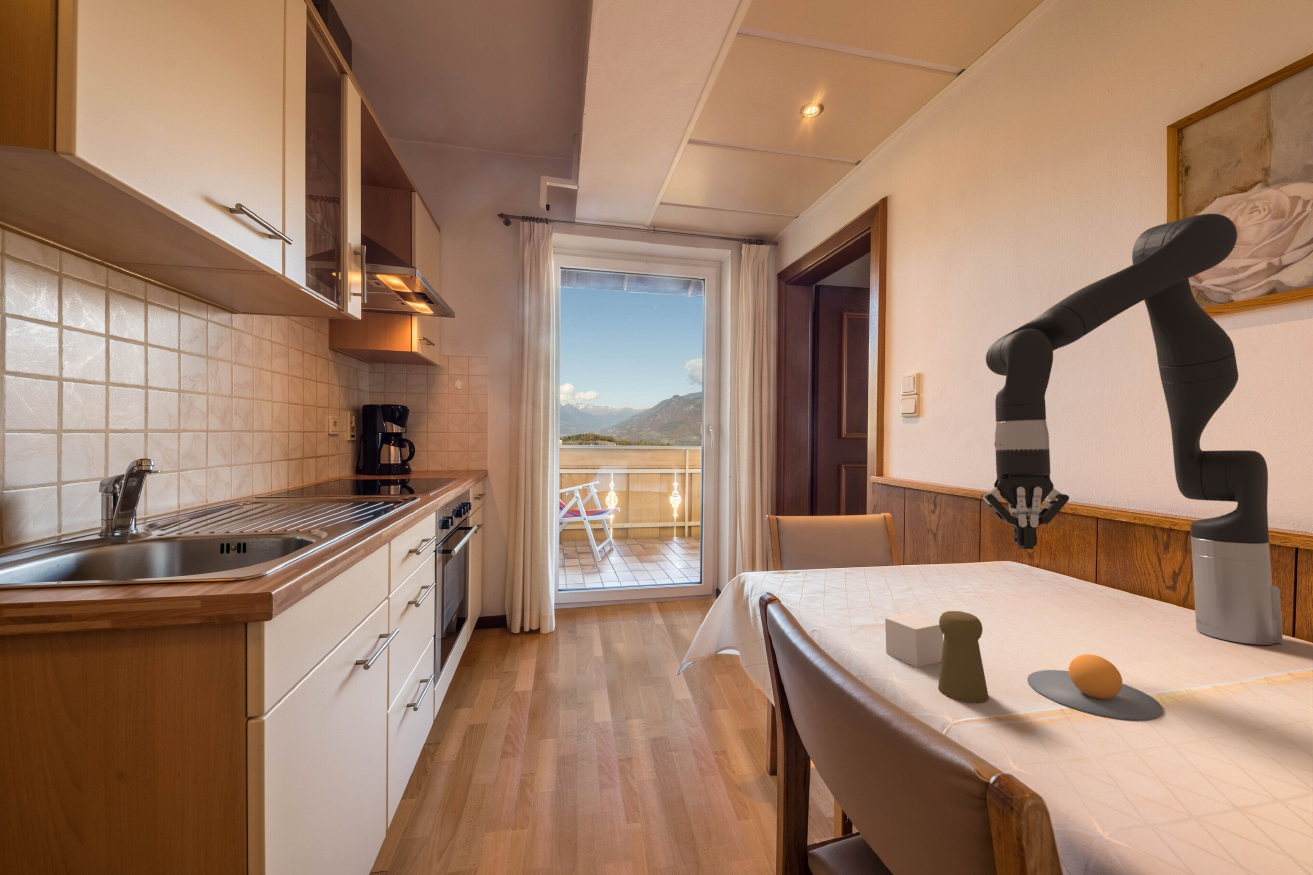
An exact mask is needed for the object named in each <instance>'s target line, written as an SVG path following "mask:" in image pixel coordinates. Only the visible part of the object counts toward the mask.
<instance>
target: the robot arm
mask: <svg viewBox="0 0 1313 875" xmlns="http://www.w3.org/2000/svg"><path fill="white" fill-rule="evenodd" d="M1237 230H1238V229H1237V227H1236V225H1235V223H1234V222H1233V221H1232V220H1231V219H1230V218H1229V217H1227V216H1225V215H1224V214H1218V213H1205V214H1204V213H1203V214H1197V215H1193V216H1189V217H1185V218H1182V219H1177V220H1173V221H1170V222H1166V223H1163V224H1158V225H1156V226H1152V227H1151V228H1148V229H1146V230H1145V231H1143V232H1142V233H1141V234H1140V235H1139V236H1138V238H1137V239H1136V241H1135V242H1134V243H1133V244H1134V245H1133V248H1132V256H1131V258H1132V259H1131V261H1132V265H1129V266H1127V267H1126V268H1123V269H1121V270H1119V271H1117V272H1115V273H1113V274H1111V275H1108V276H1106V277H1103V278H1102V279H1099V280H1096V281H1095V282H1093V283H1090V284H1088V285H1086V286H1085V287H1082V288H1080V289H1079V290H1077V291H1075V292H1074V293H1072V294H1069V295H1067V297H1065V298H1063V299H1062V300H1060V301H1058V302H1057V303H1055V304H1054V305H1053V306H1051V307H1049V308H1048V309H1047V310H1045V311H1044V312H1042V313H1041V314H1039V316H1037V317H1036V318H1034V319H1033V320H1030V321H1029V322H1027V323H1024V324H1023V325H1021V326H1019V327H1018V328H1015V329H1013V330H1012V331H1010V332H1008V333H1006V334H1005V335H1003V336H1002V337H1000V338H998V339H997V340H995V341H994V342H993V343H992V344H990V346H989V347H988V349H987V351H986V354H985V355H986V356H985V363H986V366H987V368H988V369H989V370H990V371H991V372H993V373H994V374H996V375H999V376H1004V377H1005V376H1006V377H1005V382H1004V383H1005V384H1004V385H1003V387H1002V388H1001V389H1000V390H999V391H998V392H997V393H996V395H995V404H994V405H995V407H994V409H995V422H996V423H995V431H994V443H993V446H994V450H995V471H996V480H995V482H994V484H993V488H992V489H991V490H989V491H988V492H986V493H985V492H983V493H982V494H981V495H980V498H981V499H982V501H983V502H984V503H985V504H986V505H987V506H988V507H989V509H990V510H992V512H994V514H995V515H996V516H997V517H998V518H999V520H1000V521H1002V522H1005V523H1008V524H1010V525H1012V528H1013V539H1014V540H1013V542H1014V544H1015V545H1017V547H1018V548H1019V549H1021V550H1034V549H1035V547H1037V545H1038V538H1037V537H1038V534H1037V532H1038V531H1037V528H1038V526H1041V525H1044V524H1045V525H1048V524H1049V523H1050V522H1052V520H1053V519H1054V518H1055V517H1056V515H1057V514H1058V513H1059V512H1060V511H1061V510H1062V508H1063V507H1064V506H1065V505H1066V503H1068V501H1069V500H1070V496H1069V495H1067V494H1064V493H1061V492H1060V491H1058V490H1057V489H1055V488H1054V487H1055V486H1054V483H1053V482H1052V480H1051V455H1050V453H1051V452H1050V435H1049V434H1050V433H1049V429H1048V424H1047V412H1046V411H1047V408H1046V392H1047V389H1048V385H1049V381H1050V376H1051V372H1052V368H1053V362H1054V351H1056V350H1059V349H1060V348H1064V347H1065V346H1068V345H1070V344H1073V343H1075V342H1076V341H1077V342H1078V340H1080V339H1082V338H1084V336H1086V335H1088V334H1089V333H1091V332H1092V331H1094V330H1095V329H1097V328H1099V327H1100V326H1102V325H1103V324H1105V323H1107V322H1108V321H1110V320H1111V319H1114V318H1115V317H1117V316H1119V315H1121V313H1123V312H1125V311H1126V310H1128V309H1130V308H1132V307H1133V306H1135V305H1137V304H1139V303H1142V302H1143V301H1144V304H1145V307H1146V310H1147V314H1148V317H1149V322H1150V327H1151V331H1152V335H1153V339H1154V343H1155V344H1154V345H1155V350H1156V358H1157V364H1158V371H1159V375H1160V382H1161V385H1162V390H1163V393H1164V398H1165V402H1166V407H1167V408H1166V409H1167V412H1168V417H1169V422H1170V431H1171V439H1172V440H1171V441H1172V452H1173V453H1172V454H1173V464H1174V473H1175V479H1176V485H1177V488H1178V490H1179V492H1180V493H1181V495H1182V496H1184V497H1185V498H1186V499H1188V500H1196V501H1209V502H1210V501H1211V502H1213V501H1216V502H1235V503H1237V506H1236V508H1235V509H1234V510H1232V511H1230V512H1228V513H1226V514H1223V515H1219V516H1214V517H1210V518H1204V519H1198V520H1197V519H1196V520H1195V521H1193V522H1192V521H1191V524H1190V541H1191V554H1192V555H1191V558H1192V574H1193V575H1192V576H1193V578H1192V579H1193V592H1194V593H1193V594H1194V596H1193V597H1194V611H1195V612H1194V613H1195V628H1196V631H1198V632H1199V633H1201V634H1204V635H1207V636H1209V637H1212V638H1215V639H1220V640H1224V641H1229V642H1234V643H1240V644H1247V645H1248V644H1249V645H1261V646H1264V645H1265V646H1270V645H1274V644H1283V643H1284V641H1283V640H1284V638H1283V636H1284V635H1283V622H1282V608H1281V607H1282V605H1281V591H1280V588H1279V586H1276V585H1273V581H1272V566H1271V565H1272V564H1271V552H1270V550H1271V549H1270V538H1269V519H1268V518H1269V516H1268V493H1269V492H1268V490H1269V488H1268V487H1269V486H1268V485H1269V472H1268V471H1269V470H1268V465H1267V461H1266V459H1265V457H1264V456H1263V455H1262V454H1261V452H1259V451H1257V450H1251V449H1250V450H1238V449H1237V450H1235V449H1234V450H1231V449H1230V450H1227V449H1226V450H1202V448H1201V445H1200V444H1201V443H1200V442H1201V437H1202V434H1203V433H1204V430H1205V428H1206V427H1207V425H1208V424H1209V422H1210V421H1211V419H1212V417H1213V416H1214V415H1215V413H1216V412H1217V411H1218V410H1219V409H1220V407H1221V406H1222V405H1223V404H1224V402H1226V400H1227V399H1228V398H1229V397H1230V395H1231V394H1232V392H1233V391H1234V389H1235V388H1236V385H1237V384H1238V380H1239V370H1238V366H1237V365H1238V364H1237V357H1236V352H1235V351H1236V350H1235V346H1234V343H1233V341H1232V339H1231V337H1230V336H1229V335H1228V334H1227V332H1226V331H1225V330H1224V329H1223V328H1222V327H1221V326H1220V324H1219V323H1217V321H1215V320H1214V319H1213V318H1212V317H1211V315H1209V314H1208V313H1207V312H1206V310H1204V309H1203V307H1201V306H1200V304H1199V303H1198V301H1197V300H1196V299H1195V296H1194V293H1193V291H1192V287H1191V283H1190V280H1189V279H1191V278H1192V277H1194V276H1196V275H1199V274H1201V273H1203V272H1206V271H1208V270H1210V269H1213V268H1214V267H1216V266H1217V265H1218V266H1219V264H1220V263H1222V262H1223V261H1225V260H1226V259H1227V258H1228V257H1229V256H1230V254H1231V253H1232V252H1233V250H1234V248H1235V246H1236V243H1237V241H1238V231H1237ZM1000 496H1001V497H1000ZM1002 499H1003V500H1004V501H1005V502H1006V504H1008V509H1007V508H1006V507H1005V506H1004V505H1003V504H1002V503H1001V500H1002ZM1045 500H1047V502H1046V503H1045V504H1044V505H1043V506H1042V508H1041V505H1042V504H1043V503H1044V501H1045Z"/></svg>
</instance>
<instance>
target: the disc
mask: <svg viewBox="0 0 1313 875" xmlns="http://www.w3.org/2000/svg"><path fill="white" fill-rule="evenodd" d="M1027 684H1028V686H1029V687H1030V688H1031V689H1033V690H1034V691H1035V692H1036V693H1038V694H1039V695H1041V696H1043V697H1045V698H1046V699H1047V700H1050V701H1053V702H1055V703H1057V704H1059V705H1062V706H1065V707H1068V708H1071V709H1074V710H1076V711H1079V712H1084V713H1086V714H1091V715H1095V716H1100V717H1103V718H1104V717H1105V718H1108V719H1109V718H1111V719H1117V720H1125V721H1150V720H1155V719H1158V718H1160V717H1161V716H1162V715H1163V714H1164V709H1163V706H1162V704H1161V702H1159V701H1158V700H1157V699H1155V698H1154V697H1152V696H1151V695H1149V694H1147V693H1145V692H1144V691H1141V690H1139V689H1137V688H1135V687H1132V686H1130V685H1128V684H1125V683H1123V684H1122V689H1121V691H1120V692H1119V693H1118V694H1117V695H1116V696H1114V697H1112V698H1109V699H1098V698H1094V697H1091V696H1088V695H1086V694H1085V693H1083V692H1082V691H1080V690H1079V689H1078V688H1077V687H1076V686H1075V685H1074V683H1073V682H1072V680H1071V678H1070V675H1069V670H1063V669H1062V670H1061V669H1057V670H1056V669H1045V670H1038V671H1034V672H1031V673H1030V674H1028V676H1027Z"/></svg>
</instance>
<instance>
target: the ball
mask: <svg viewBox="0 0 1313 875" xmlns="http://www.w3.org/2000/svg"><path fill="white" fill-rule="evenodd" d="M1068 671H1069V675H1070V678H1071V680H1072V682H1073V683H1074V685H1075V686H1076V687H1077V688H1078V689H1079V690H1080V691H1082V692H1083V693H1085V694H1086V695H1088V696H1091V697H1094V698H1098V699H1109V698H1112V697H1114V696H1116V695H1117V694H1118V693H1119V692H1120V691H1121V689H1122V684H1124V683H1123V682H1124V681H1123V678H1122V675H1121V672H1120V671H1119V669H1118V668H1117V667H1116V666H1115V665H1114V664H1113V663H1112V662H1110V661H1109V660H1108V659H1106V658H1104V657H1101V656H1099V655H1096V654H1090V653H1089V654H1088V653H1087V654H1081V655H1077V656H1076V657H1074V658H1073V659H1072V660H1071V661H1070V663H1069V666H1068Z"/></svg>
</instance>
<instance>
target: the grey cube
mask: <svg viewBox="0 0 1313 875" xmlns="http://www.w3.org/2000/svg"><path fill="white" fill-rule="evenodd" d="M884 622H885V652H886V655H889V656H891V657H893V658H894V659H895V658H896V659H898V660H900V661H902V662H905V663H907V664H908V665H911V666H913V667H916V668H919V667H924V666H928V665H933V664H937V663H941V658H942V649H943V640H944V634H943V633H942V631H941V629H940V626H939V621H938V622H937V621H934V620H931V619H929V618H925V617H923V616H919V615H917V614H914V613H907V614H900V615H895V616H891V617H885V618H884Z"/></svg>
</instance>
